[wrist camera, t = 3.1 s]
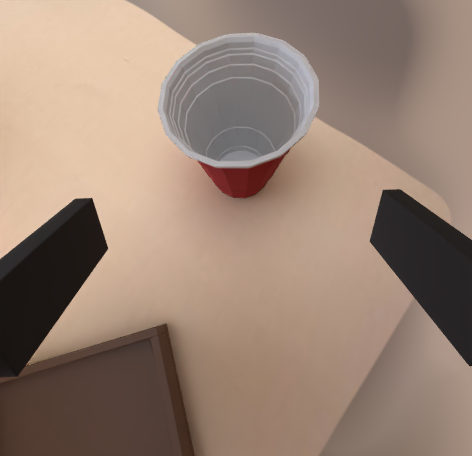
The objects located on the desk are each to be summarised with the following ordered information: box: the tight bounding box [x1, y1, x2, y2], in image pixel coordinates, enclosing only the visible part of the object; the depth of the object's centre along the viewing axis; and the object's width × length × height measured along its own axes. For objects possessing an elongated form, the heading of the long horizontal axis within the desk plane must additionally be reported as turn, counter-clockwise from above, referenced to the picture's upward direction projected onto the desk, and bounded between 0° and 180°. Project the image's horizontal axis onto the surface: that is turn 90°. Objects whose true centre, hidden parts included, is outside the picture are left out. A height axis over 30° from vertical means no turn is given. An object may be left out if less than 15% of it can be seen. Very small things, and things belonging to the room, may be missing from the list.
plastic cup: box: [158, 33, 319, 198], centre depth 24 cm, size 11×11×12 cm
